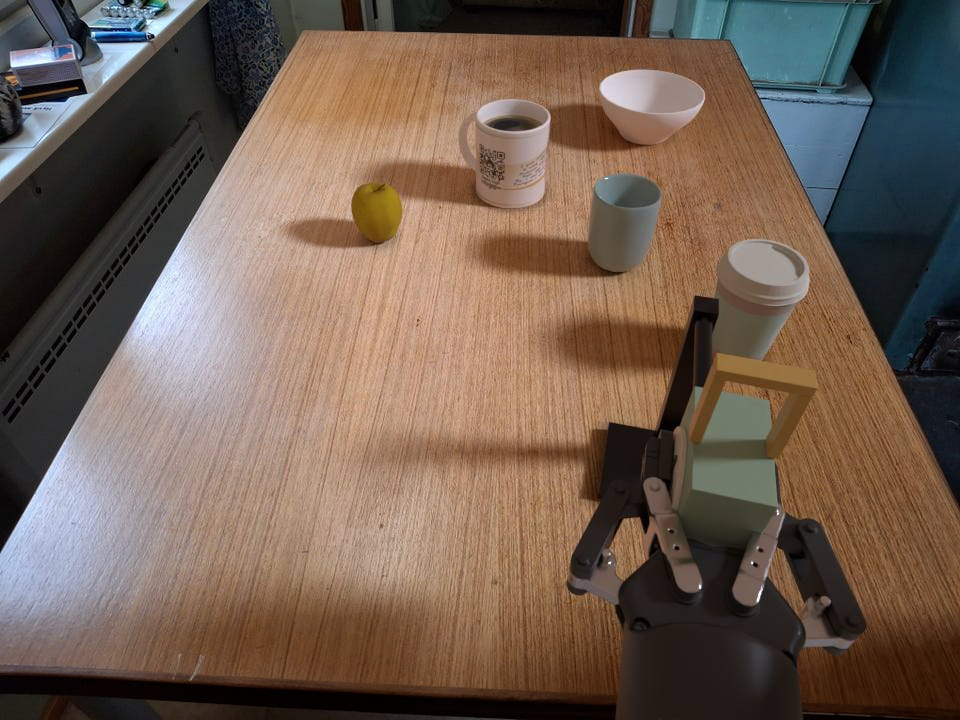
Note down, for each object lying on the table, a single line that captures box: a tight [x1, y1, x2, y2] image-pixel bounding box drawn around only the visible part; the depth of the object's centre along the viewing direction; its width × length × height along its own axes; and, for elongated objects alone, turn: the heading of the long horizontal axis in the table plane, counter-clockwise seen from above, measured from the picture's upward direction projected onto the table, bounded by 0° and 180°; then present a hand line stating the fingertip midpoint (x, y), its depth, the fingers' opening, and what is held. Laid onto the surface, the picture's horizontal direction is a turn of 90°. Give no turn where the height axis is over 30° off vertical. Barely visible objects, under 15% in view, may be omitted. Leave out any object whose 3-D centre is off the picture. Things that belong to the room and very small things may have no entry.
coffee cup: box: [712, 238, 811, 361], centre depth 68 cm, size 8×8×12 cm
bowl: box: [598, 69, 706, 146], centre depth 105 cm, size 16×16×7 cm
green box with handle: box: [667, 353, 819, 550], centre depth 36 cm, size 5×7×15 cm, turn 166°
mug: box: [457, 98, 552, 209], centre depth 92 cm, size 10×12×11 cm
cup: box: [587, 173, 663, 273], centre depth 80 cm, size 8×8×10 cm
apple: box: [350, 182, 403, 244], centre depth 84 cm, size 6×6×8 cm
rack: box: [597, 294, 719, 500], centre depth 52 cm, size 10×14×18 cm
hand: (707, 448), depth 39 cm, fingers closed on green box with handle, 4 cm apart
